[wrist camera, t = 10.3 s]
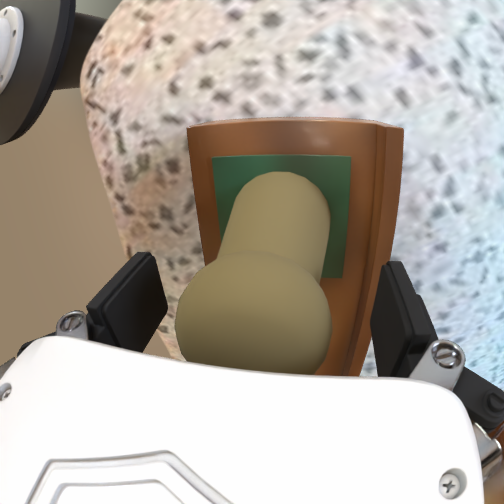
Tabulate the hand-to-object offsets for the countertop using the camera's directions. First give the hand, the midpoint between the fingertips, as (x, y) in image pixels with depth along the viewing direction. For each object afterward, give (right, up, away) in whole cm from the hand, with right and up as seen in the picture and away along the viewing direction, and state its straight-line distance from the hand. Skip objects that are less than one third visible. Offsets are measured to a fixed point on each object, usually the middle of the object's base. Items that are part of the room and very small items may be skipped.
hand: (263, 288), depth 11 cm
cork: (+1, +3, +6) cm, 7 cm away
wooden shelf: (+3, +1, +13) cm, 13 cm away
